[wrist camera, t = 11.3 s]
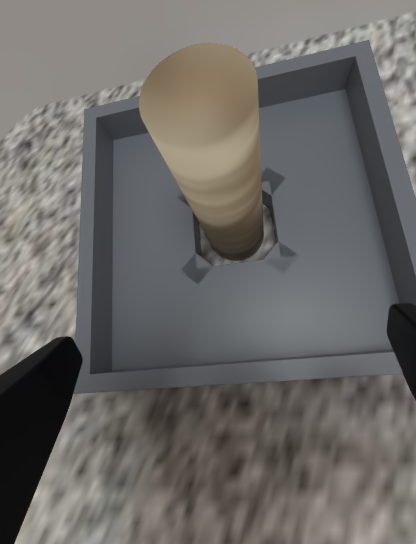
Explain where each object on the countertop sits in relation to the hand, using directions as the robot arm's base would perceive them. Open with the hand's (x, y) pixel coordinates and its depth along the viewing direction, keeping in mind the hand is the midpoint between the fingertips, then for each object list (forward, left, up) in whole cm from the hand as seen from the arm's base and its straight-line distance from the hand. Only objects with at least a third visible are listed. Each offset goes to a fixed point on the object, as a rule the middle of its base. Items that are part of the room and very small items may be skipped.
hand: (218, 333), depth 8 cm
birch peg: (+3, +7, -12) cm, 15 cm away
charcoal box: (+3, +7, -12) cm, 15 cm away
